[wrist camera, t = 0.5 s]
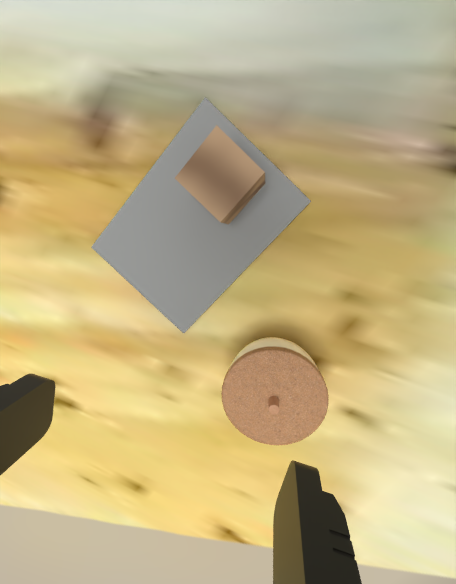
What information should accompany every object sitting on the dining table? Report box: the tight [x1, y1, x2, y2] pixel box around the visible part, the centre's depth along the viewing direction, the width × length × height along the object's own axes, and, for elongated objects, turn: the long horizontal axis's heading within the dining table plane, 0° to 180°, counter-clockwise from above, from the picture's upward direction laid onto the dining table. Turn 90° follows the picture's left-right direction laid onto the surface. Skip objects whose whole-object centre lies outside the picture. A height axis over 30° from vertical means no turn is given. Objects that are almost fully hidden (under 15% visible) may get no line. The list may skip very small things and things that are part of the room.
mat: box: [92, 98, 311, 333], centre depth 34 cm, size 22×16×1 cm
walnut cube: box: [175, 125, 265, 224], centre depth 29 cm, size 6×6×6 cm
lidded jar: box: [222, 337, 328, 445], centre depth 32 cm, size 11×11×9 cm
